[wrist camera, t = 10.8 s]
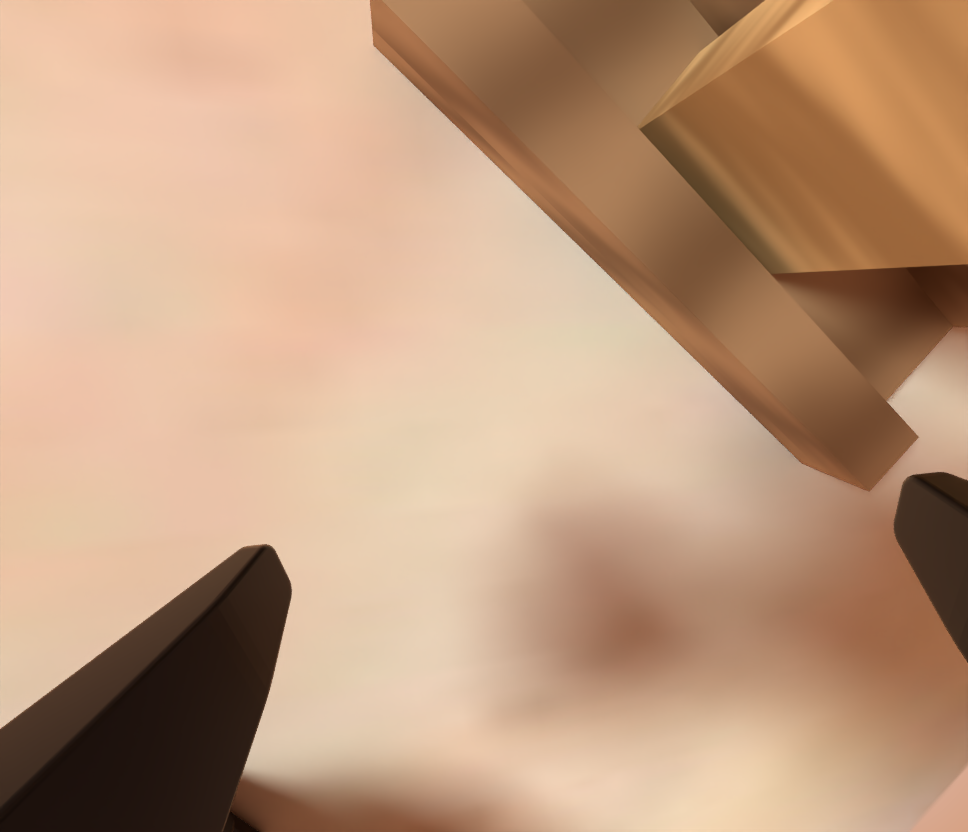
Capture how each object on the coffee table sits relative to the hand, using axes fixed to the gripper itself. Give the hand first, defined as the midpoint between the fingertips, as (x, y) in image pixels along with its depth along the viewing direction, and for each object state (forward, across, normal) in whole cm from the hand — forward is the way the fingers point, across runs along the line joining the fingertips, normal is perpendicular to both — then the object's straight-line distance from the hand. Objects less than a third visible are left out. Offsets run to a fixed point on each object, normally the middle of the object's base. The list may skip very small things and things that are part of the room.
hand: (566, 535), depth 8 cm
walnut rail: (+13, -6, -2) cm, 15 cm away
